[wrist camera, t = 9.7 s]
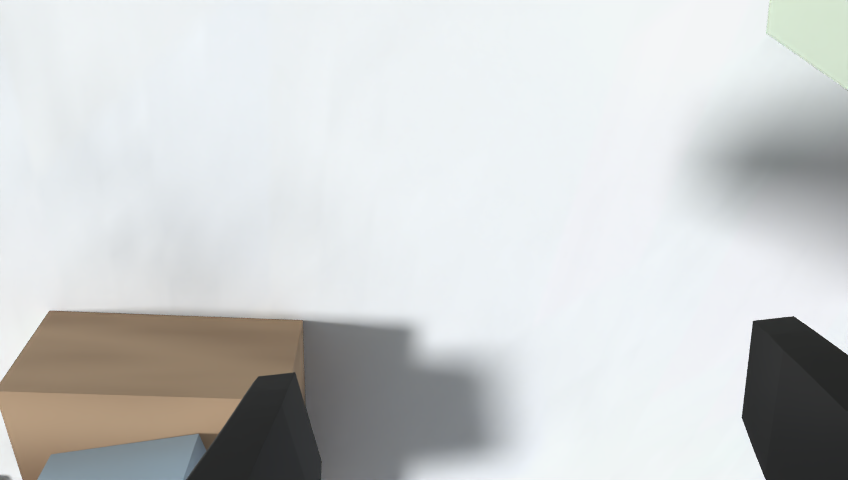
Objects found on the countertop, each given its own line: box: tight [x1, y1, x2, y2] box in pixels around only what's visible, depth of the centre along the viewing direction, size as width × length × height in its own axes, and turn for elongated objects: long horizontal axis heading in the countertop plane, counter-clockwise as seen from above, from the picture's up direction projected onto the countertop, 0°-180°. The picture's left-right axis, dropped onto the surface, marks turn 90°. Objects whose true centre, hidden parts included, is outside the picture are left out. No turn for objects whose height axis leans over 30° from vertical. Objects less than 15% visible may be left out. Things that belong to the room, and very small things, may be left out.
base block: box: [0, 311, 306, 480], centre depth 25 cm, size 8×8×4 cm
